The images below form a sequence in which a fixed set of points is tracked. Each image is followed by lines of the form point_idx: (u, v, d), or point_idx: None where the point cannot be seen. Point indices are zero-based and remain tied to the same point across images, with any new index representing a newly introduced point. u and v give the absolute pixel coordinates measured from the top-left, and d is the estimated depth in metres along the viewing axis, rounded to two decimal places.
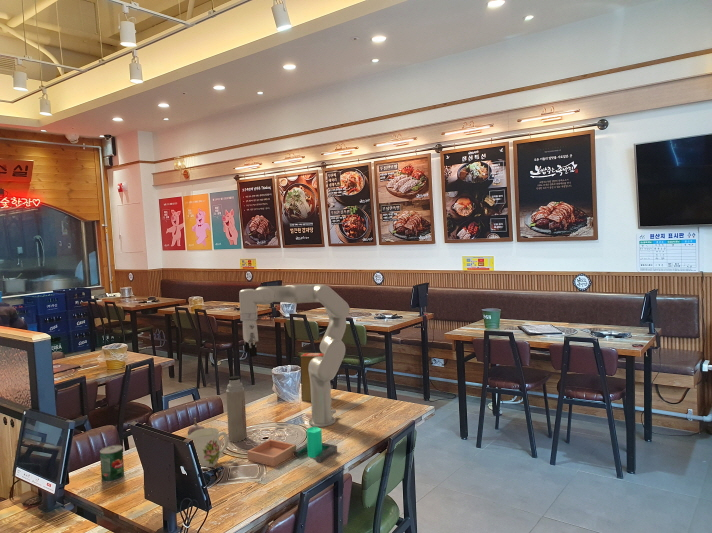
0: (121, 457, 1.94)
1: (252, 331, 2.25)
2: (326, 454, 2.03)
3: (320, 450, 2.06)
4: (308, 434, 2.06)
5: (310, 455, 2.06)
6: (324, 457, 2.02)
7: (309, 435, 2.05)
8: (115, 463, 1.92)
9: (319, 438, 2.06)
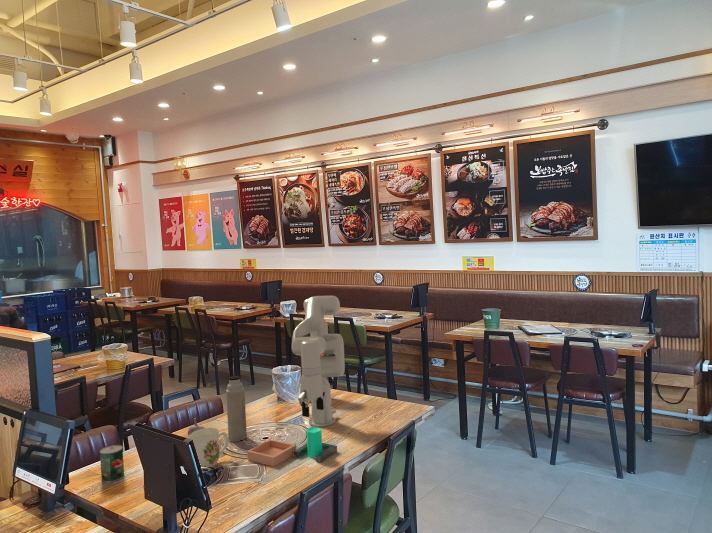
0: (121, 457, 1.94)
1: None
2: (326, 454, 2.03)
3: (320, 450, 2.06)
4: (308, 434, 2.06)
5: (310, 455, 2.06)
6: (324, 457, 2.02)
7: (309, 435, 2.05)
8: (115, 463, 1.92)
9: (319, 438, 2.06)
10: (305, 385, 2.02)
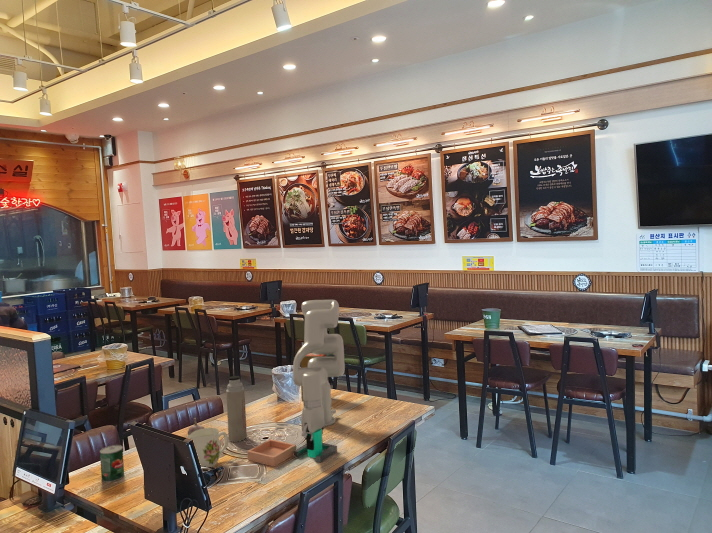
0: (121, 457, 1.94)
1: None
2: (326, 454, 2.03)
3: (320, 450, 2.06)
4: None
5: (310, 455, 2.06)
6: (324, 457, 2.02)
7: None
8: (115, 463, 1.92)
9: (319, 438, 2.06)
10: (306, 418, 2.03)
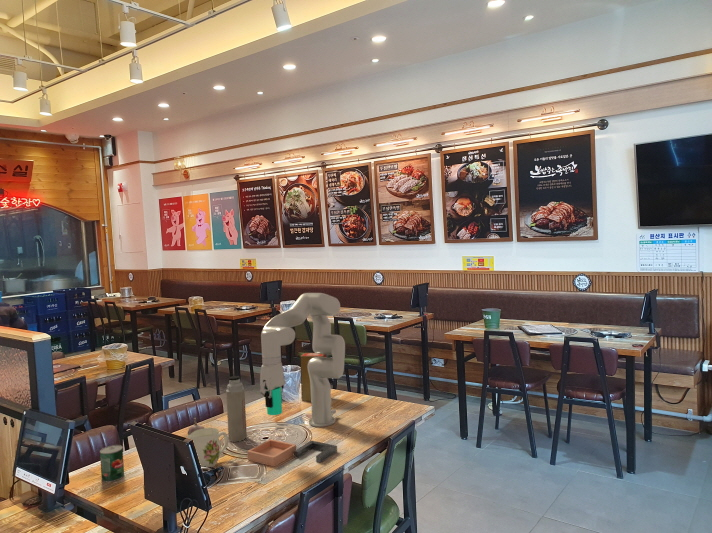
0: (121, 457, 1.94)
1: None
2: (326, 454, 2.03)
3: (279, 408, 2.06)
4: (267, 392, 2.05)
5: (269, 413, 2.05)
6: (324, 457, 2.02)
7: (268, 392, 2.04)
8: (115, 463, 1.92)
9: (278, 396, 2.05)
10: (265, 375, 2.02)
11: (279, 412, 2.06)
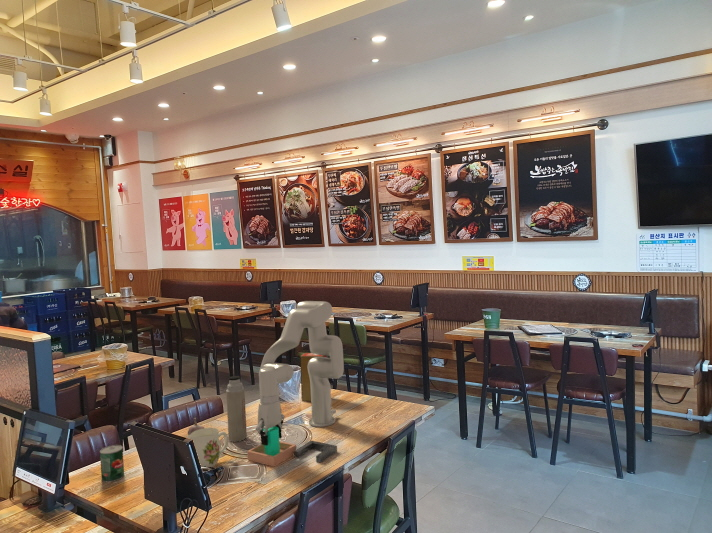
0: (121, 457, 1.94)
1: None
2: (326, 454, 2.03)
3: (277, 449, 2.07)
4: None
5: (267, 454, 2.06)
6: (324, 457, 2.02)
7: None
8: (115, 463, 1.92)
9: (276, 437, 2.06)
10: (262, 413, 2.03)
11: (277, 453, 2.06)
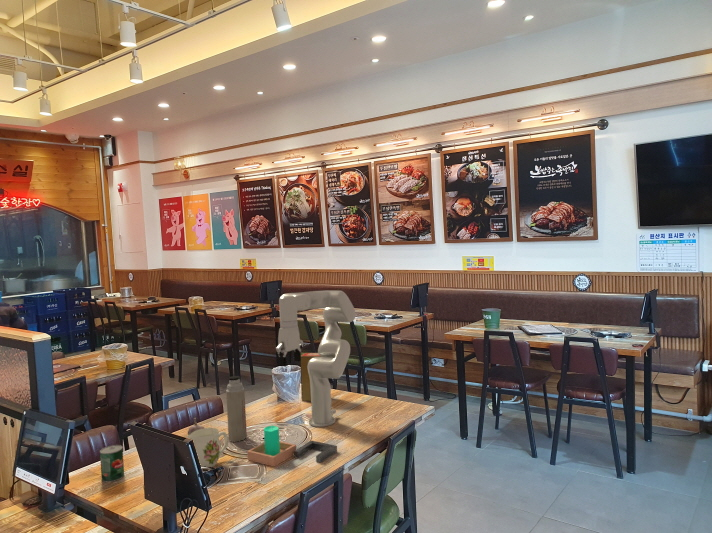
0: (121, 457, 1.94)
1: None
2: (326, 454, 2.03)
3: (277, 449, 2.07)
4: (265, 433, 2.06)
5: (267, 454, 2.06)
6: (324, 457, 2.02)
7: (266, 433, 2.05)
8: (115, 463, 1.92)
9: (276, 437, 2.06)
10: (283, 337, 2.17)
11: (277, 453, 2.06)
